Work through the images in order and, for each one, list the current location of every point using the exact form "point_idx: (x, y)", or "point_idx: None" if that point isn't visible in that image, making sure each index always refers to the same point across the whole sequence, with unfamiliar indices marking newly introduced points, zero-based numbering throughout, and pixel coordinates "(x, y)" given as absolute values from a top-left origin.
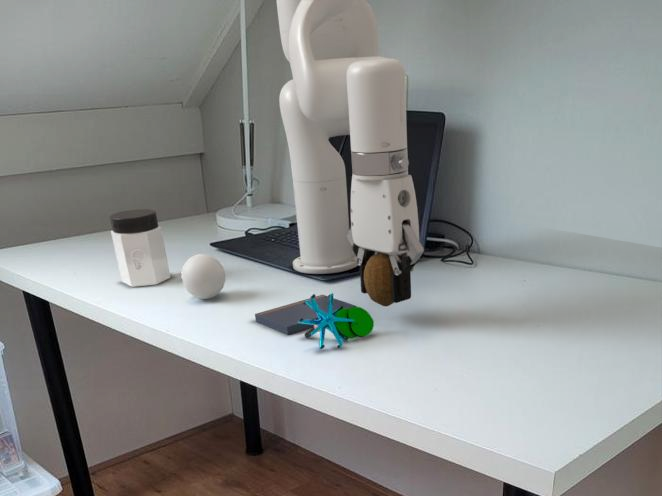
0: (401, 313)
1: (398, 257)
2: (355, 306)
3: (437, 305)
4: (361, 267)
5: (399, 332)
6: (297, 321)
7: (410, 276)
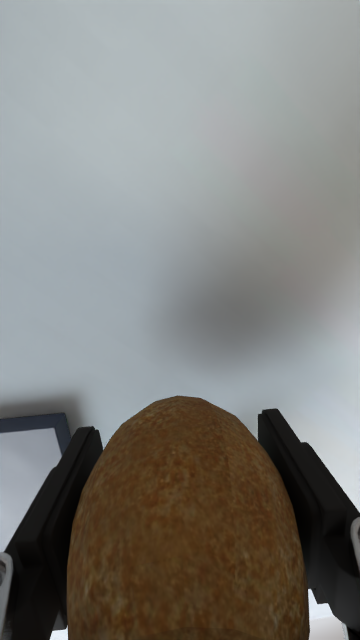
0: (144, 326)
1: (267, 618)
2: (56, 430)
3: (155, 191)
4: (64, 625)
5: (261, 410)
6: None
7: (323, 476)
